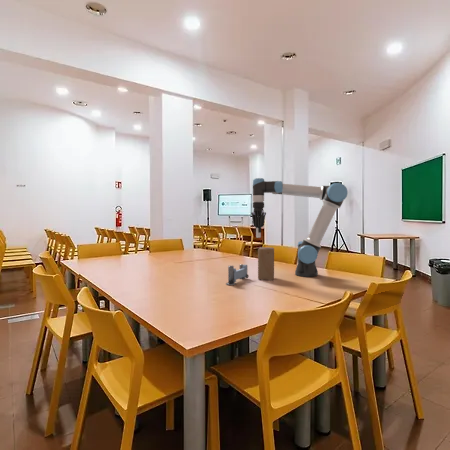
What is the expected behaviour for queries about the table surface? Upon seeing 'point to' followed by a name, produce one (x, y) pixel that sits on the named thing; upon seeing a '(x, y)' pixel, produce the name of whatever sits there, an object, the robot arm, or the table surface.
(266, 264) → the wooden block
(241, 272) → the grey i-beam block
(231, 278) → the gate posts
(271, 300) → the table surface
